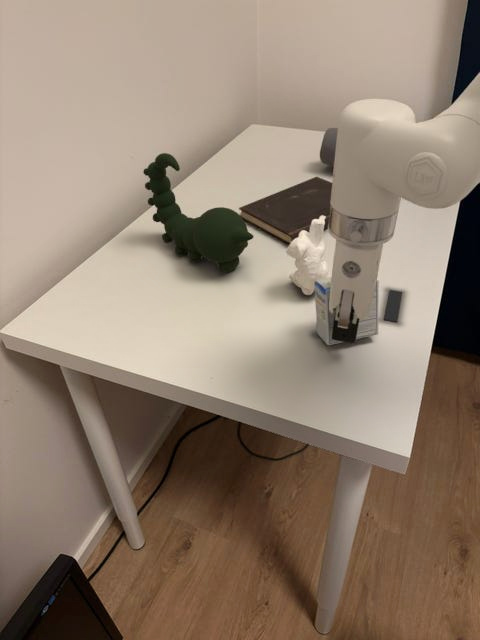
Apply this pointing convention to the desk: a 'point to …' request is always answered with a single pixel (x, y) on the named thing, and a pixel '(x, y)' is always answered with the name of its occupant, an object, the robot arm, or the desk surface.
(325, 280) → the medicine box
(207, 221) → the toy figurine
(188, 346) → the desk surface
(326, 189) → the hardcover book
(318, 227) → the white bunny figurine
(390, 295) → the strip
